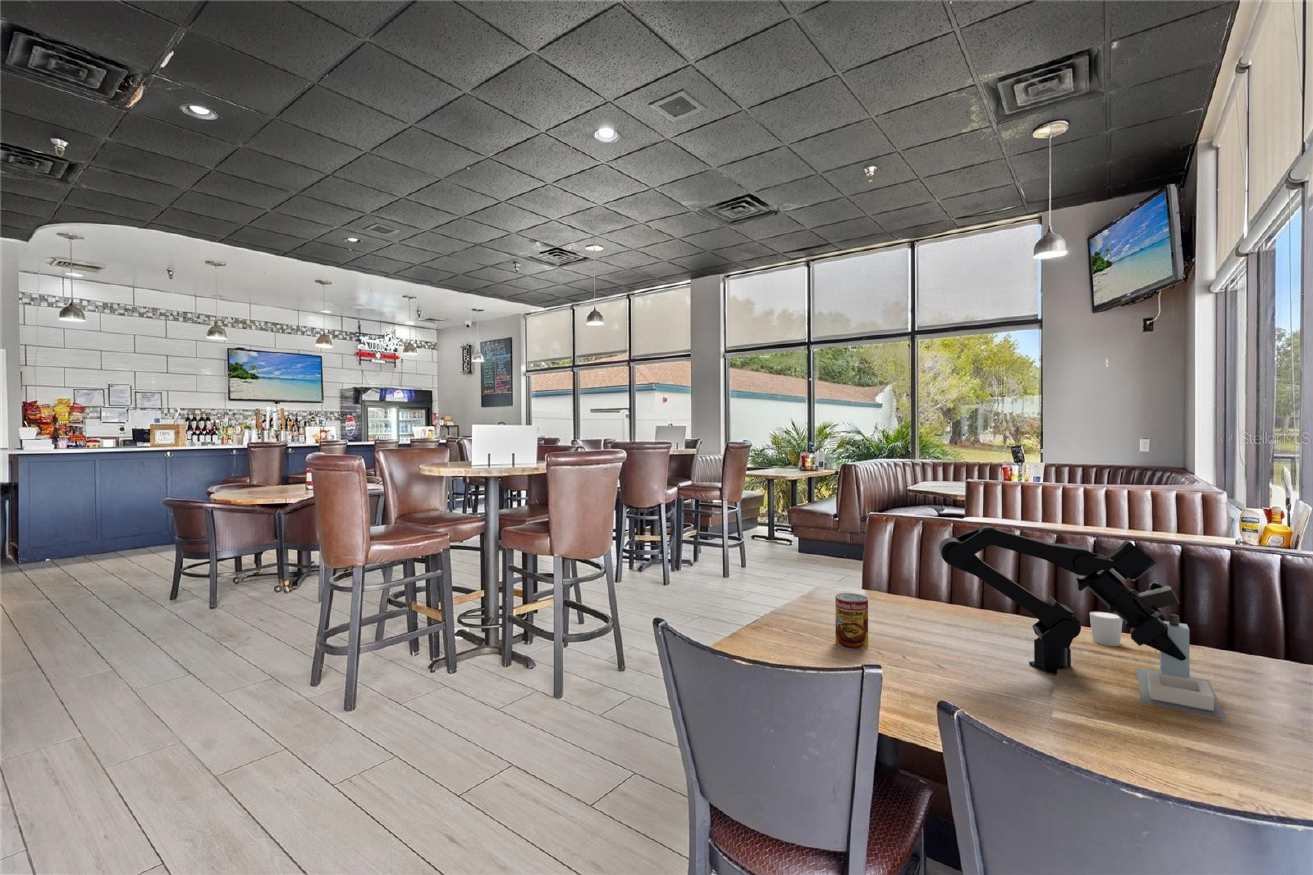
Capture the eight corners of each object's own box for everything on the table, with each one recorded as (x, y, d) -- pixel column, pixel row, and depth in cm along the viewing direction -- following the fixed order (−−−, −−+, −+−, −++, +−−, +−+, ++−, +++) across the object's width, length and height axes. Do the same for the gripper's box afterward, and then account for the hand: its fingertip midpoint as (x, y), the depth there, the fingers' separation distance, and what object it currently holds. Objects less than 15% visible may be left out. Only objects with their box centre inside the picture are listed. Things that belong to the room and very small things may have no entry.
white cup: (1129, 647, 150) (1128, 619, 150) (1097, 645, 151) (1097, 617, 151) (1114, 638, 156) (1113, 611, 156) (1084, 637, 158) (1084, 610, 158)
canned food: (834, 647, 150) (833, 599, 150) (837, 638, 157) (836, 592, 157) (867, 651, 147) (867, 602, 147) (869, 641, 154) (868, 594, 154)
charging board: (1226, 724, 109) (1226, 718, 109) (1141, 707, 116) (1141, 701, 116) (1209, 685, 127) (1209, 680, 127) (1136, 672, 134) (1136, 667, 134)
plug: (1161, 683, 125) (1160, 616, 125) (1159, 676, 128) (1159, 611, 129) (1189, 688, 122) (1189, 619, 122) (1187, 681, 126) (1186, 614, 126)
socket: (1150, 701, 116) (1150, 685, 116) (1148, 685, 124) (1147, 671, 124) (1213, 713, 111) (1213, 697, 111) (1207, 697, 118) (1206, 681, 118)
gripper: (1152, 580, 120) (1228, 646, 114) (1146, 564, 135) (1213, 622, 129) (1103, 612, 125) (1173, 678, 118) (1103, 594, 140) (1165, 652, 133)
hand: (1183, 656), depth 125 cm, fingers closed on plug, 4 cm apart
